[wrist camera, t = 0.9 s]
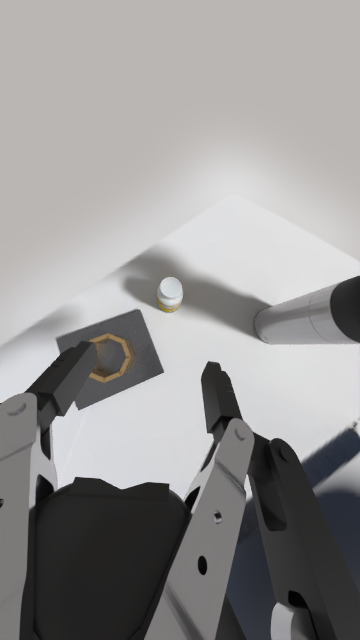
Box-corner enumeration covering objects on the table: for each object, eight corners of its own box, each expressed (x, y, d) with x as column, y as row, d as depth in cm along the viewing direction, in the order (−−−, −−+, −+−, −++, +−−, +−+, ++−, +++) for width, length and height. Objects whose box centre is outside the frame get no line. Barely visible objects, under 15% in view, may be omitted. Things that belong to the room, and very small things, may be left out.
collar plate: (140, 310, 34) (137, 306, 31) (163, 371, 33) (164, 375, 29) (60, 339, 32) (45, 338, 28) (81, 408, 30) (68, 417, 26)
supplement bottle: (176, 316, 35) (180, 305, 26) (154, 309, 35) (151, 296, 26) (182, 295, 36) (189, 278, 27) (161, 289, 36) (161, 269, 27)
